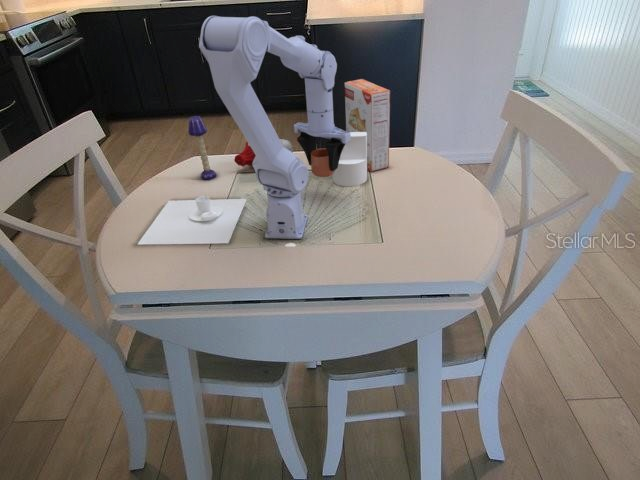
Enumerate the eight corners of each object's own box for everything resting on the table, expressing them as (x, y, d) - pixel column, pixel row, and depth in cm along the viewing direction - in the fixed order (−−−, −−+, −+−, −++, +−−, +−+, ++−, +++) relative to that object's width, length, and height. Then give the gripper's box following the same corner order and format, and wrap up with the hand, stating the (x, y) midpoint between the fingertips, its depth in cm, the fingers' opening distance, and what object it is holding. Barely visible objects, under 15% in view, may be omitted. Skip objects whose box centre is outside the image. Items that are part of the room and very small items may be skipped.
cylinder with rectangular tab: (367, 171, 123) (367, 127, 116) (366, 186, 115) (366, 140, 109) (333, 171, 124) (331, 128, 117) (331, 186, 116) (328, 141, 110)
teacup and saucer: (217, 224, 103) (214, 208, 101) (183, 225, 104) (179, 209, 102) (226, 205, 111) (223, 190, 109) (194, 206, 111) (191, 191, 109)
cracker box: (345, 155, 133) (343, 81, 121) (363, 151, 134) (363, 77, 123) (370, 173, 122) (370, 93, 110) (389, 168, 124) (391, 89, 112)
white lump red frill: (297, 163, 129) (250, 184, 123) (277, 151, 137) (233, 170, 131) (290, 133, 123) (241, 154, 118) (271, 123, 131) (224, 142, 126)
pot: (334, 177, 106) (333, 157, 103) (310, 177, 106) (308, 157, 104) (336, 167, 110) (335, 148, 108) (313, 167, 111) (312, 148, 108)
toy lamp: (214, 180, 124) (202, 119, 114) (197, 181, 124) (183, 121, 115) (217, 173, 128) (206, 113, 118) (201, 174, 128) (188, 114, 119)
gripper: (357, 108, 99) (358, 166, 106) (305, 99, 107) (309, 154, 114) (339, 117, 94) (341, 178, 102) (285, 108, 102) (291, 164, 109)
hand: (323, 166), depth 107 cm, fingers closed on pot, 6 cm apart
